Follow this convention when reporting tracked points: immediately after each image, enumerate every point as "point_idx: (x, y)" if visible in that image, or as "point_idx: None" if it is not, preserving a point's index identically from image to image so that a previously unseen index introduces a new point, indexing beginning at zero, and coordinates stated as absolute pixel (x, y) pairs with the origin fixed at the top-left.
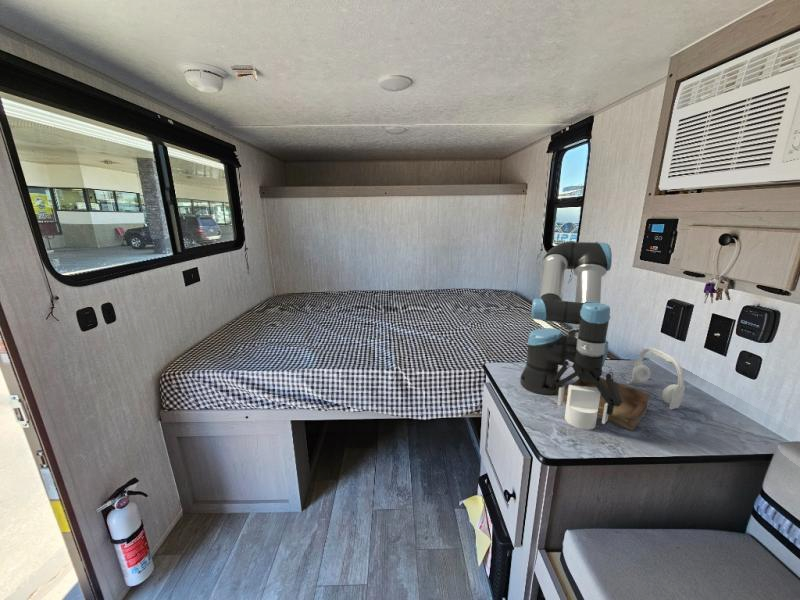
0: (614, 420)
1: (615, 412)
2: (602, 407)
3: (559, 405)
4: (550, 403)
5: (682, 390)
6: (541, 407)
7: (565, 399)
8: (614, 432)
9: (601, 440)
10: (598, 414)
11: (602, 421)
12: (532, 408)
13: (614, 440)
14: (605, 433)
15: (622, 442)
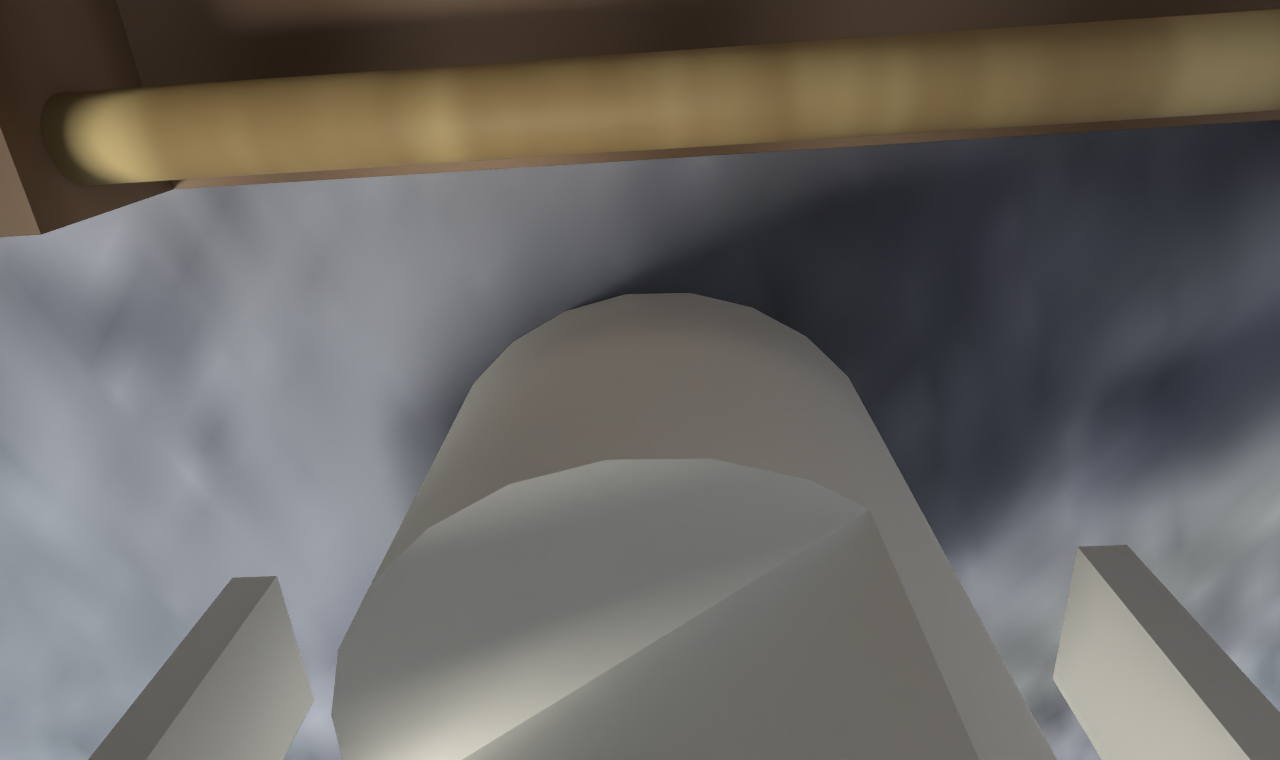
0: (1151, 125)
1: (1256, 71)
2: (935, 93)
3: (310, 699)
4: (83, 393)
5: None
6: (119, 595)
7: (141, 198)
8: (1154, 397)
9: (1029, 683)
10: (839, 143)
11: (1080, 705)
12: (86, 698)
13: (1173, 575)
14: (1043, 517)
15: (1273, 541)
